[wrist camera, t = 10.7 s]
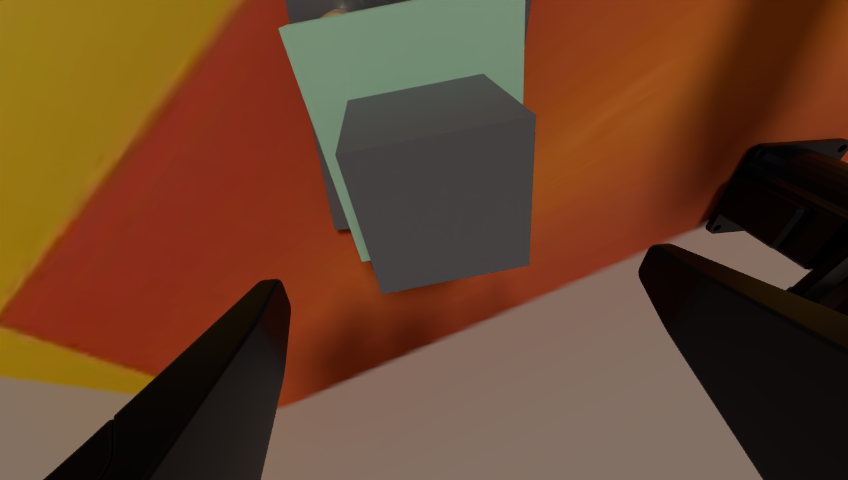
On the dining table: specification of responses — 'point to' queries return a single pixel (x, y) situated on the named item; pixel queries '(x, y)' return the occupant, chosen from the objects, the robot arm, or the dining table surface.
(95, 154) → the dining table surface
